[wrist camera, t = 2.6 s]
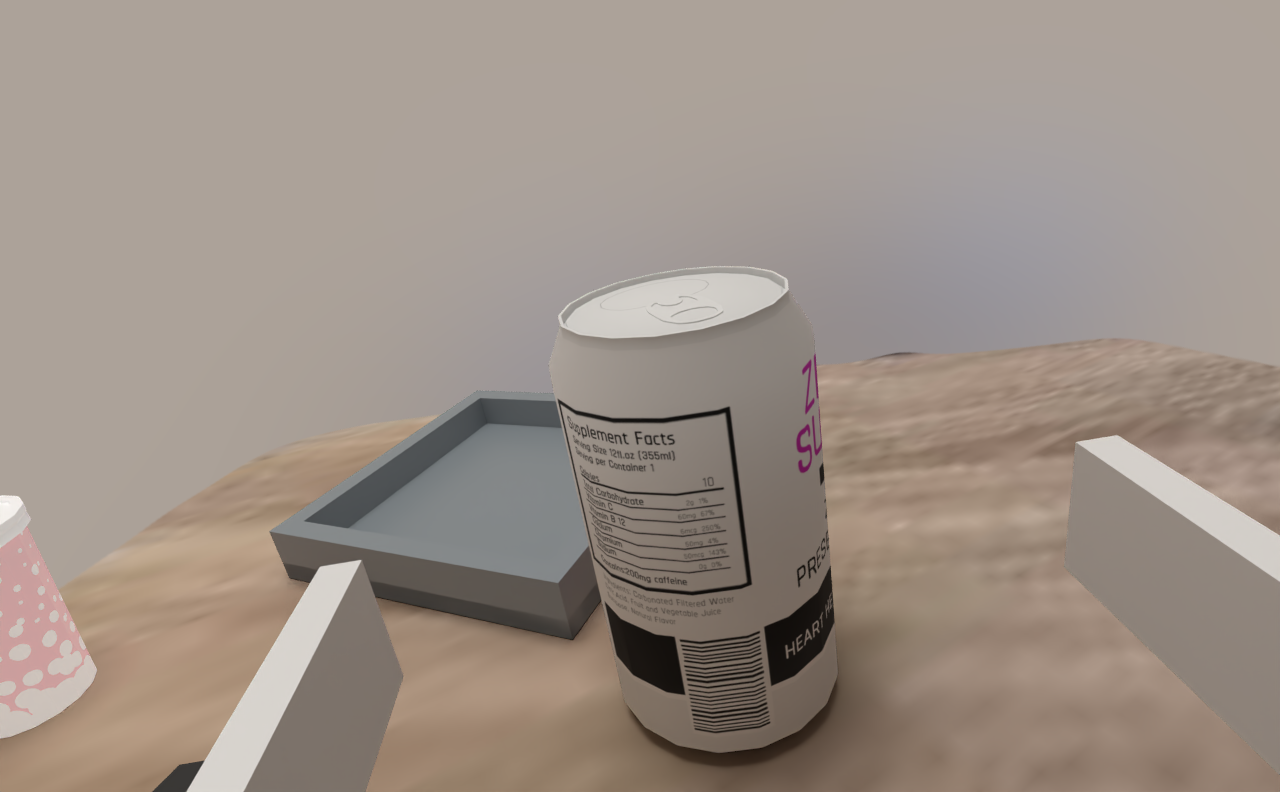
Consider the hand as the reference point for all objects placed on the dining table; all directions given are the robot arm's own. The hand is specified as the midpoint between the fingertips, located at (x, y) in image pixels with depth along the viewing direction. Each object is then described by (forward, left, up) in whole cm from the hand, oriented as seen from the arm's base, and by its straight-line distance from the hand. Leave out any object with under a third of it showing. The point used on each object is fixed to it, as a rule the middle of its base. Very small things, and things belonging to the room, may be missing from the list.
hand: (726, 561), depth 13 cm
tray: (+20, -18, -13) cm, 30 cm away
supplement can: (+4, -9, -13) cm, 16 cm away
